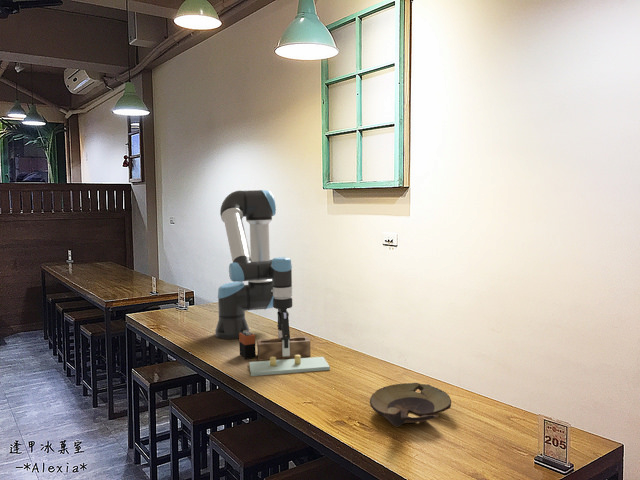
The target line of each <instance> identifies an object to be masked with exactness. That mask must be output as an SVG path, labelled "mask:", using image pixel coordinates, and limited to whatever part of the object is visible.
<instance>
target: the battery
mask: <svg viewBox="0 0 640 480" xmlns="http://www.w3.org/2000/svg"><path fill="white" fill-rule="evenodd" d="M238 339H239V340H238V342H239V345H238V347H239V356H241V357H242V358H244V359H245V360H249V359H255V358H256V356H257V355H256V335H255V334H254V333H252V332H251V331H250V330H249V331H247V330H244V331H243V332H241V333H239V338H238Z"/></svg>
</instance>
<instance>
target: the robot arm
mask: <svg viewBox="0 0 640 480" xmlns="http://www.w3.org/2000/svg"><path fill="white" fill-rule="evenodd" d="M276 208H277V205H276V201H275V197H274V194H273V193H272V192H271V190H263V189H257V190H235V191H232V192H231V193H230V194H228V195H227V196H226V197H225V198H224V200H223V201H222V203H221V206H220V211H219V213H220V214H219V215H220V218H221V221H222V223H224V227H225V231H226V236H227V242H228V246H229V250H230V256H231V261H232V262H231V263H230V264H229V266H228V273H229V277H228V278H229V280H230V281H231V282H228V283H225V284H224V283H223V285H220V286H219V288H218V289H217V301H218V305H217V306H218V320H217V324H216V327H215V331H214V332H215V333H214V335H215V337H216V338H218V339H221V340H222V339H224V340H233V339H234V340H236V339H239V333H241V332H243V331H244V330H247V331H249V332H250V328H249V324H248V321H247V319H246V311H256V310H257V311H258V310H268V309H273V308H274V309H276V310H277V314H276V315H277V325H276V326H277V333H278V335H277V338H281V340H282V355H283V357H284V356H290V343H289V339H290V337H291V334H290V333H291V332H290V322H289V321H290V320H289V316H290V315H289V314H290V313H289V312H288V310H287V309H291V308H292V307H293V285H292V284H293V281H292V280H293V279H292V277H293V276H292V271H293V270H292V269H293V266H292V265H293V264H292V260H291V259H292V258H290V257H286V256H285V257H284V256H281V257H280V256H279V257H274V258H272V259H271V258H270V257H271V256H270V254H271V253H270V225H269V224H270V223H271V221H273V216H275V215H276V212H277V209H276ZM244 217H245V221H246V222H247V223H248V224H249V241H250V242H249V243H250V244H249V243H248V239H247V235H246V231H245V227H244V223H243V222H244V221H243V219H244ZM249 245H250V247H249ZM244 282H247V284H245V283H244Z"/></svg>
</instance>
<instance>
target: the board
mask: <svg viewBox="0 0 640 480" xmlns="http://www.w3.org/2000/svg"><path fill="white" fill-rule="evenodd" d="M248 364H249V372H250V376H251V377H257V376H270V375H284V374H295V373H306V372H307V373H308V372H317V371H318V372H320V371H330V370H331V368H330V367H331V366H330V365H329V363H328V361H327V360H326V359H325V357H324V356H312V357H311V356H310V357H301V355H295V357H294V358H283V359H276V357H270V359H269V360H258V361H249V362H248Z"/></svg>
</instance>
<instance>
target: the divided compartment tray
mask: <svg viewBox="0 0 640 480" xmlns="http://www.w3.org/2000/svg"><path fill="white" fill-rule="evenodd" d="M256 341H257V342H256V345H257V358H258V361H266V360H270V357H276V360H280V359H293V358H295V355H301V358H307V357H311V355H312V354H311V340H310V338H309V337H308V336H293V337H291V336H290V339H289V343H290V356H284V357H283V355H282V340H281V338H278V337H277V338H263V339H256Z"/></svg>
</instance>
